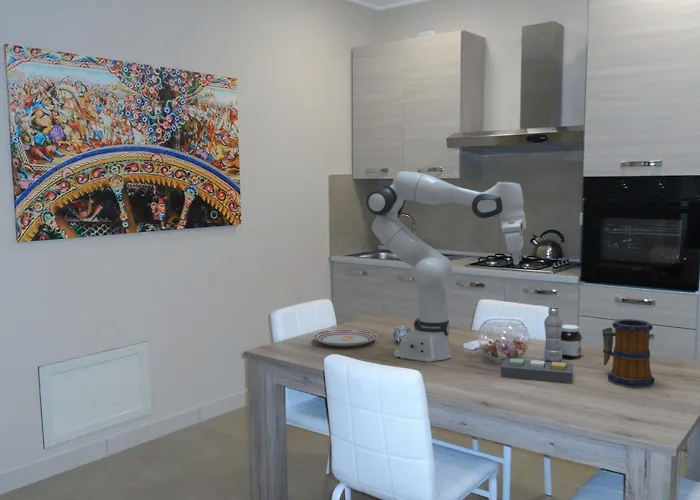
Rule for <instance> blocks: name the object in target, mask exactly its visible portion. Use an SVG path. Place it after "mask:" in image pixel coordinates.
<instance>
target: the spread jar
mask: <svg viewBox="0 0 700 500" xmlns="http://www.w3.org/2000/svg"><path fill="white" fill-rule="evenodd" d="M579 330H580V327H579V326H578V325H574V324H563V326H562V332H561V349H562V354H563V357H562V359H569V360H572V359H573V360H574V359H578V358H579V357H580V356H581V354H582V352H583V351H582V350H583V336H582V334H581V332H580V331H579Z"/></svg>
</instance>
